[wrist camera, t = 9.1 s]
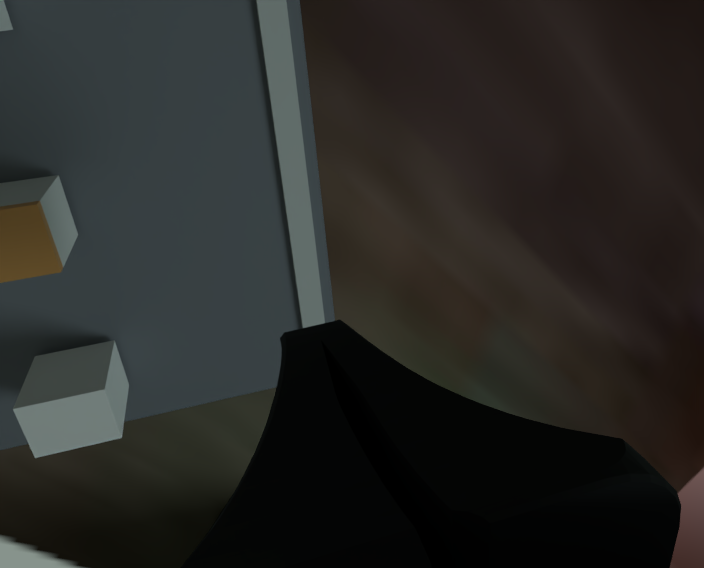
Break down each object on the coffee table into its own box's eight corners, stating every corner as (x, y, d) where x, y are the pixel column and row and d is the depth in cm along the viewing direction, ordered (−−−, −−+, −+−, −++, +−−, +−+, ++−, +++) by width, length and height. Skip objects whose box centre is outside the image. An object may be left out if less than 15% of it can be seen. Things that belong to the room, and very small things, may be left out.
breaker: (129, 384, 19) (121, 437, 17) (53, 401, 19) (35, 458, 16) (114, 340, 18) (104, 389, 16) (34, 356, 18) (12, 409, 15)
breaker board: (331, 351, 23) (341, 375, 21) (8, 422, 20) (-5, 454, 19) (274, -137, 15) (284, -152, 14) (-242, -114, 13) (-295, -129, 12)
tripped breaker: (78, 234, 17) (61, 272, 14) (-12, 249, 16) (-45, 290, 14) (58, 175, 16) (37, 204, 13) (-37, 188, 15) (-76, 221, 13)
